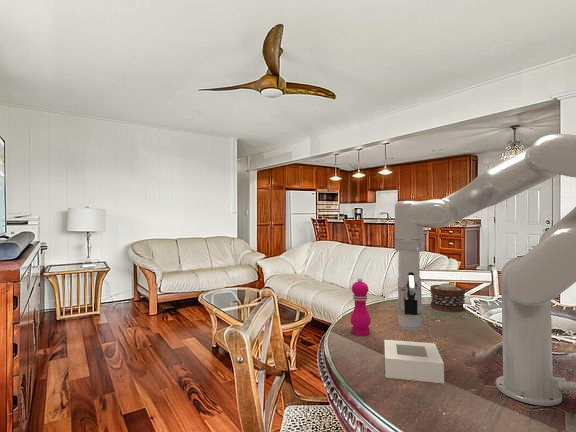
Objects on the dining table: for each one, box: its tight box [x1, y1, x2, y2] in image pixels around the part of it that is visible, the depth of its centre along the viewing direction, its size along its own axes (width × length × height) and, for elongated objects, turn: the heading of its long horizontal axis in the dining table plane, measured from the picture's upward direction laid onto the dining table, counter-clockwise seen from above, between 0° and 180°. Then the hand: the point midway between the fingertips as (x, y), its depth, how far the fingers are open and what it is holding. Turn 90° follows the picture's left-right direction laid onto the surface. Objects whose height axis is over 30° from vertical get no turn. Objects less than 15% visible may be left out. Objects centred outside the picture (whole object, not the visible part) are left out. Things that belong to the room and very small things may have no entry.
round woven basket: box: [430, 283, 466, 313], centre depth 154 cm, size 15×11×15 cm
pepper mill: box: [350, 277, 372, 336], centre depth 122 cm, size 7×7×20 cm
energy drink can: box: [397, 273, 423, 331], centre depth 93 cm, size 6×6×15 cm
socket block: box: [383, 339, 445, 385], centre depth 92 cm, size 14×14×5 cm
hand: (409, 310), depth 93 cm, fingers closed on energy drink can, 6 cm apart
